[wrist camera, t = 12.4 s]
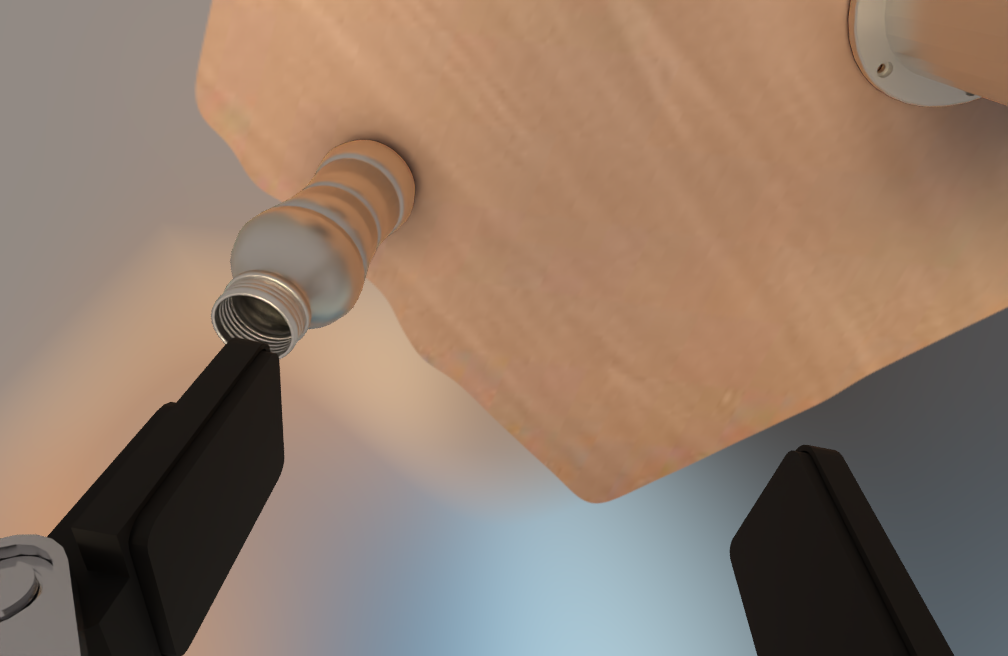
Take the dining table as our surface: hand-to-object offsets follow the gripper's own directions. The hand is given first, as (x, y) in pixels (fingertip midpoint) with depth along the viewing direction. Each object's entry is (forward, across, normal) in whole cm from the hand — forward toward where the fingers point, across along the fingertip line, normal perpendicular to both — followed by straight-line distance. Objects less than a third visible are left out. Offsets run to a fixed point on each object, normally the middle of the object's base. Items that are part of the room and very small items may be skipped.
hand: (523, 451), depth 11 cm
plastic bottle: (+32, +11, +8) cm, 35 cm away
